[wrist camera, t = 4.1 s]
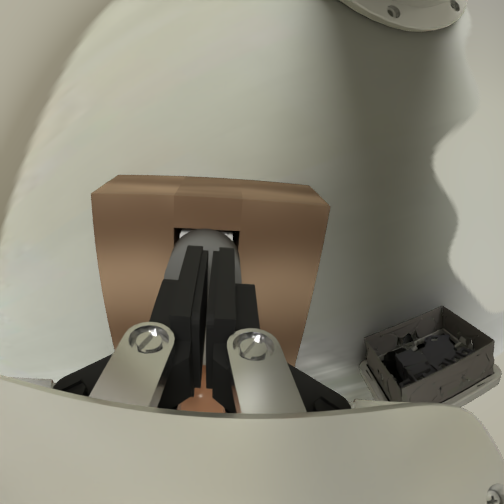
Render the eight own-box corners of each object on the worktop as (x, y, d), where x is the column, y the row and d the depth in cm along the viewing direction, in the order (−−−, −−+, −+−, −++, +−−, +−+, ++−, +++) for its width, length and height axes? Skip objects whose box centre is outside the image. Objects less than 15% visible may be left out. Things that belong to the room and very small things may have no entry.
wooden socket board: (118, 175, 16) (91, 193, 13) (309, 185, 17) (330, 206, 14) (140, 373, 23) (132, 410, 19) (273, 379, 24) (279, 417, 21)
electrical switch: (357, 369, 25) (394, 450, 16) (350, 324, 23) (396, 410, 14) (445, 331, 24) (498, 394, 16) (447, 285, 22) (514, 346, 14)
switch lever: (182, 202, 17) (162, 245, 12) (239, 205, 17) (244, 249, 12) (181, 253, 18) (166, 312, 13) (235, 256, 19) (238, 316, 13)
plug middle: (174, 311, 16) (158, 396, 11) (234, 314, 16) (239, 401, 11) (177, 353, 17) (166, 435, 12) (231, 356, 18) (234, 439, 13)
